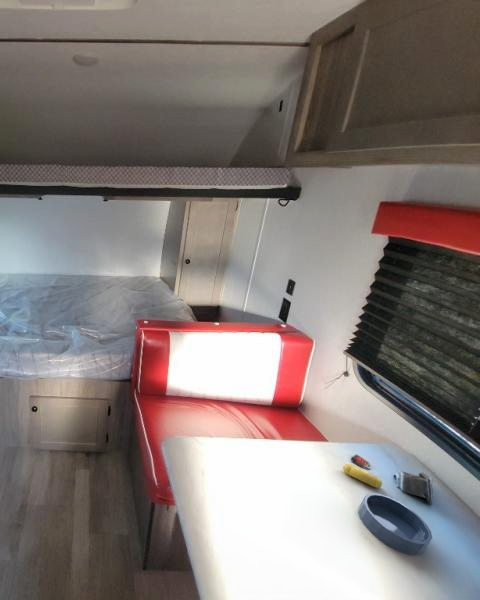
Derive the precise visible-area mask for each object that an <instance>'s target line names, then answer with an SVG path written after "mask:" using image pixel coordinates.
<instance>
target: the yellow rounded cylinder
mask: <svg viewBox="0 0 480 600" xmlns="http://www.w3.org/2000/svg"><path fill="white" fill-rule="evenodd" d="M342 470H343V472H344V473H345V474H346V475H348V476H350V477H352V478H354V479H356V480H359V481H360V482H362V483H365V484H366V485H368V486H371V487H373V488H376V489H379V488H381V487H382V486H383V481H382V480H381V479H380V477H378V476H376V475H374V474H371V473H370V472H368V471H365V470H364V469H361V468H360V467H358V466H355V465H353V464H351V463H344V464H343V466H342Z"/></svg>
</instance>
